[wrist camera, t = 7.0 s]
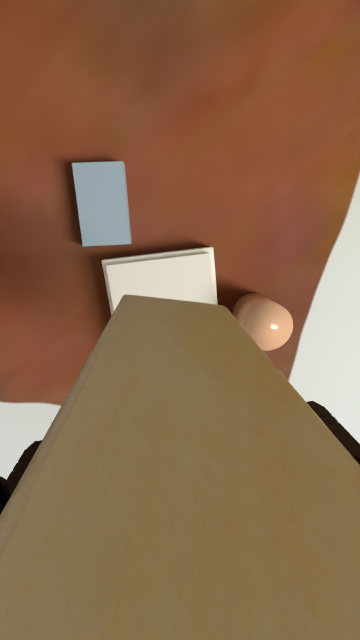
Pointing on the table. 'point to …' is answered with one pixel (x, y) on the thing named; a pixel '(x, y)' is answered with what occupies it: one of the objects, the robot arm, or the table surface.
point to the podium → (163, 276)
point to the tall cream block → (182, 496)
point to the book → (102, 203)
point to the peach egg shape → (263, 320)
